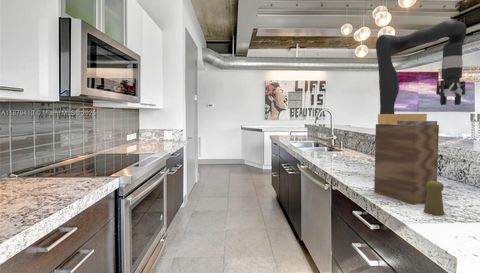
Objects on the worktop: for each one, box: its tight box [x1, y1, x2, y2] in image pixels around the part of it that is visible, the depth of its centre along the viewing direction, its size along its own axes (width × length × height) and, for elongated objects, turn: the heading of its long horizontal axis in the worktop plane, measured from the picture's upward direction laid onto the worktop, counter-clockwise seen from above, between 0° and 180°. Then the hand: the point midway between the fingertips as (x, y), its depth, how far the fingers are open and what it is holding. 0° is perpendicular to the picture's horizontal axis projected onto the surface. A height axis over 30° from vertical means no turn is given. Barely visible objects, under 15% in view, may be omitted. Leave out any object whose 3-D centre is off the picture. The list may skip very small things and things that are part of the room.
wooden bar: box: [377, 113, 428, 124], centre depth 132 cm, size 22×4×4 cm, turn 109°
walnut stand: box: [373, 120, 440, 205], centre depth 128 cm, size 12×20×32 cm, turn 18°
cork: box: [423, 180, 445, 216], centre depth 107 cm, size 6×6×11 cm
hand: (450, 104), depth 137 cm, fingers open, 8 cm apart
